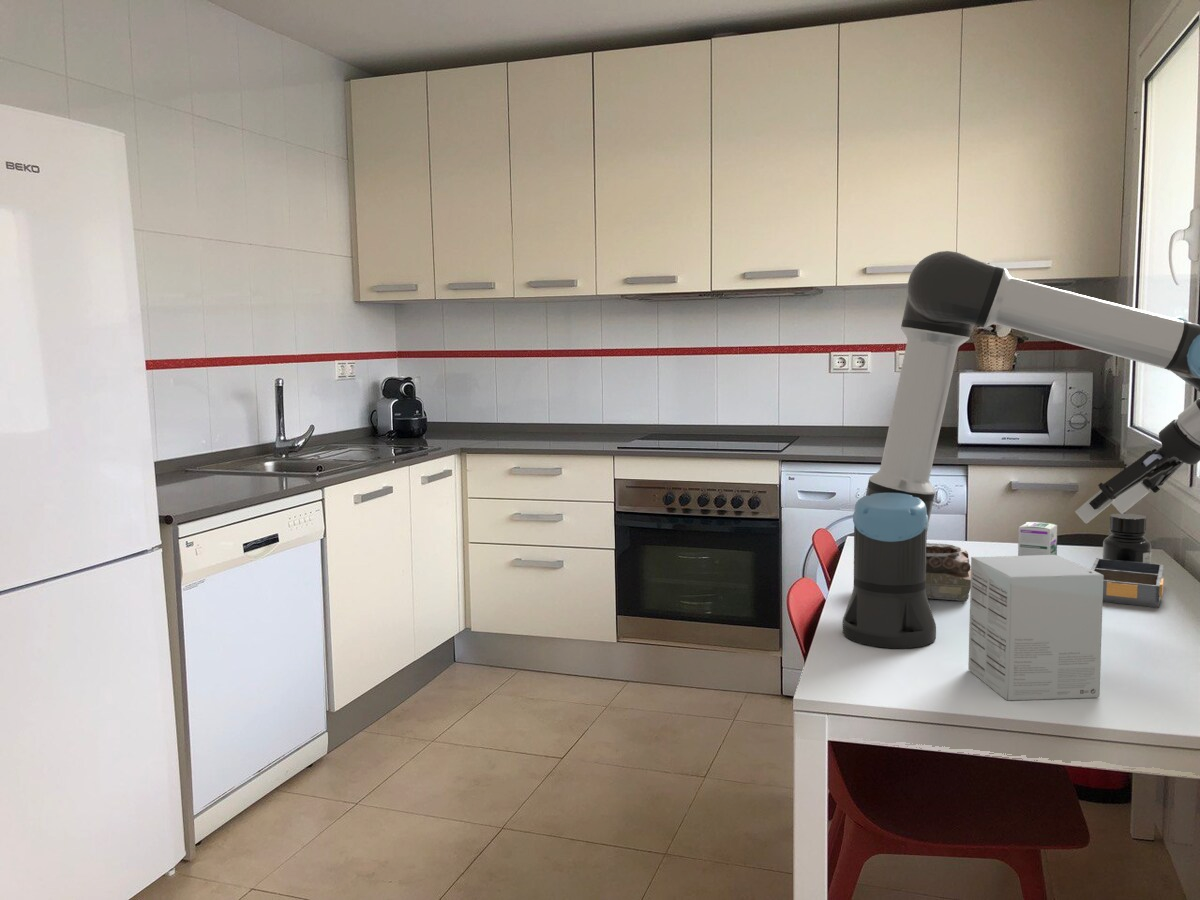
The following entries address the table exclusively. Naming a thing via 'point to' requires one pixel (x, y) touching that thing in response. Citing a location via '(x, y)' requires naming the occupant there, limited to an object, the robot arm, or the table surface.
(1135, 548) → the ink bottle
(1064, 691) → the supplement box
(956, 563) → the decorative box
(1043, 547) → the syrup box
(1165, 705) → the table surface
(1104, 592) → the grey divided tray
